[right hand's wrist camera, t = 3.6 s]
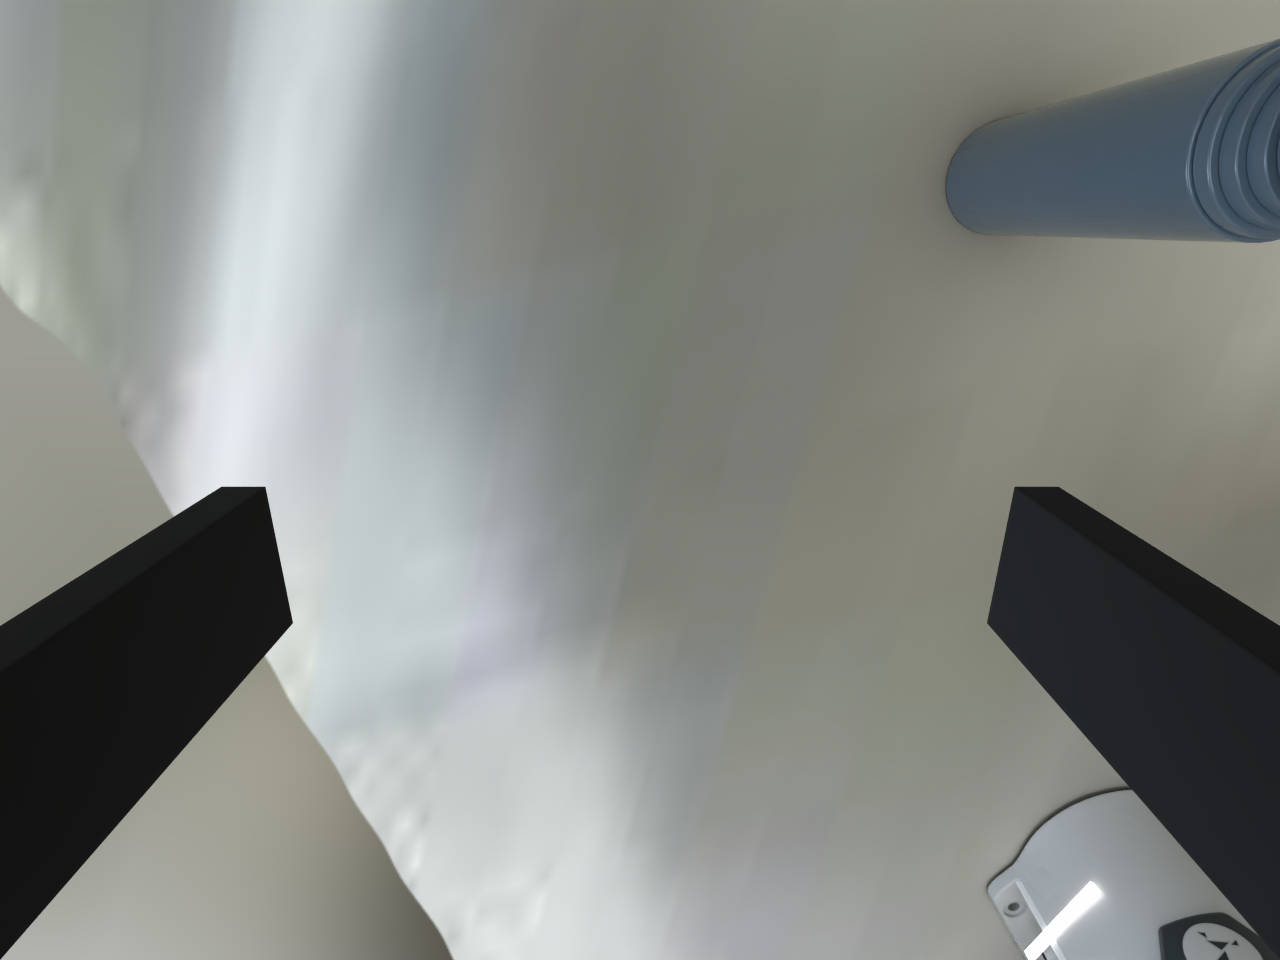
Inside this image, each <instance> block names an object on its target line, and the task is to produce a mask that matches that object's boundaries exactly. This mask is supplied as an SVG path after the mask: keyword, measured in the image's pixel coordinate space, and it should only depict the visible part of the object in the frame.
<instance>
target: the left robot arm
mask: <svg viewBox="0 0 1280 960" xmlns="http://www.w3.org/2000/svg"><path fill="white" fill-rule="evenodd" d="M987 892H988V895H989V897H990V899H991V901H992V902H993V904H994V906H995V907H996V909H997V911H998V913H999V914H1000V916H1001V918H1002V920H1003V921H1004V923H1005V925H1006V926H1007V928H1008V930H1009V932H1010V933H1011V935H1012V937H1013V938H1014V940H1015V942H1016V944H1017V945H1018V947H1019V949H1020V951H1021V952H1022V954H1023V956H1024V957H1025V959H1026V960H1280V959H1279V958H1278V957H1277V956H1276V955H1275V954H1274V952H1273V951H1272V950H1271V949H1270V948H1269V947H1268V946H1267V944H1266V943H1265V942H1264V941H1263V940H1262V939H1261V937H1260V936H1259V935H1258V934H1257V933H1256V932H1255V931H1254V929H1253V928H1252V927H1251V926H1250V925H1249V924H1248V923H1247V921H1246V920H1245V919H1244V918H1243V917H1242V916H1241V914H1240V913H1239V912H1238V911H1237V910H1236V909H1235V908H1234V906H1233V905H1232V904H1231V903H1230V902H1229V901H1228V900H1227V898H1226V897H1225V896H1224V895H1223V894H1222V893H1221V891H1220V890H1219V889H1218V888H1217V887H1216V886H1215V885H1214V883H1213V882H1212V881H1211V880H1210V879H1209V878H1208V877H1207V875H1206V874H1205V873H1204V872H1203V871H1202V870H1201V868H1200V867H1199V866H1198V865H1197V864H1196V863H1195V862H1194V860H1193V859H1192V858H1191V857H1190V856H1189V855H1188V854H1187V852H1186V851H1185V850H1184V849H1183V848H1182V847H1181V845H1180V844H1179V843H1178V842H1177V841H1176V840H1175V839H1174V837H1173V836H1172V835H1171V834H1170V833H1169V832H1168V831H1167V829H1166V828H1165V827H1164V826H1163V825H1162V824H1161V822H1160V821H1159V820H1158V819H1157V818H1156V817H1155V816H1154V814H1153V813H1152V812H1151V811H1150V810H1149V809H1148V808H1147V806H1146V805H1145V804H1144V803H1143V802H1142V801H1141V799H1140V798H1139V797H1138V796H1137V795H1136V794H1135V793H1134V791H1133V790H1122V791H1115V792H1109V793H1105V794H1101V795H1098V796H1094V797H1091V798H1088V799H1086V800H1083V801H1081V802H1078V803H1076V804H1074V805H1072V806H1070V807H1068V808H1066V809H1065V810H1063V811H1061V812H1060V813H1058V814H1057V815H1055V816H1054V817H1052V818H1051V819H1050V820H1048V821H1047V822H1046V823H1045V824H1044V825H1043V826H1042V827H1041V828H1039V829H1038V830H1037V832H1036V833H1035V834H1034V835H1033V836H1032V837H1031V839H1030V840H1029V841H1028V843H1027V844H1026V846H1025V847H1024V849H1023V851H1022V852H1021V854H1020V856H1019V857H1018V859H1017V860H1016V862H1015V863H1014V864H1013V865H1012V866H1011V867H1009V868H1008V869H1007V870H1005V871H1004V872H1003V873H1002V874H1000V875H999V876H998V877H997V878H996V879H994V880H993V881H992V882H991V884H990V885H989V887H988V890H987Z"/></svg>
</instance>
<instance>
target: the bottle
mask: <svg viewBox="0 0 1280 960" xmlns="http://www.w3.org/2000/svg"><path fill="white" fill-rule="evenodd" d="M946 195H947V200H948V204H949V207H950V209H951V211H952V213H953V215H954V216H955V218H956V219H957V220H958V221H959V222H960V223H961V224H962V225H963V226H965V227H966V228H967V229H969V230H971V231H973V232H976V233H980V234H986V235H1015V236H1047V237H1079V238H1111V239H1142V240H1174V241H1206V242H1238V243H1263V242H1271V241H1275V240H1279V239H1280V39H1277V40H1273V41H1270V42H1266V43H1263V44H1259V45H1256V46H1252V47H1249V48H1246V49H1242V50H1239V51H1235V52H1232V53H1228V54H1225V55H1221V56H1218V57H1214V58H1211V59H1208V60H1204V61H1201V62H1197V63H1194V64H1190V65H1187V66H1183V67H1180V68H1176V69H1173V70H1170V71H1166V72H1163V73H1159V74H1156V75H1152V76H1149V77H1145V78H1142V79H1138V80H1135V81H1132V82H1128V83H1125V84H1121V85H1118V86H1114V87H1111V88H1107V89H1104V90H1100V91H1097V92H1094V93H1090V94H1087V95H1083V96H1080V97H1076V98H1073V99H1069V100H1066V101H1062V102H1059V103H1056V104H1052V105H1049V106H1045V107H1042V108H1038V109H1035V110H1031V111H1028V112H1024V113H1021V114H1018V115H1014V116H1011V117H1007V118H1004V119H1000V120H997V121H993V122H991V123H988V124H986V125H984V126H982V127H980V128H979V129H977V130H976V131H975V132H973V133H972V134H971V135H970V136H969V137H968V138H966V140H965V141H964V142H963V143H962V144H961V145H960V147H959V148H958V150H957V151H956V153H955V155H954V157H953V159H952V161H951V164H950V166H949V170H948V173H947V179H946Z"/></svg>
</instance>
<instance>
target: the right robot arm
mask: <svg viewBox="0 0 1280 960" xmlns="http://www.w3.org/2000/svg"><path fill="white" fill-rule="evenodd" d="M292 623H293V621H292V616H291V611H290V607H289V602H288V597H287V592H286V587H285V582H284V577H283V572H282V567H281V562H280V557H279V552H278V547H277V542H276V537H275V532H274V527H273V522H272V518H271V513H270V508H269V503H268V498H267V493H266V488H265V487H221V488H219V489H217V490H216V491H214V492H213V493H211V494H209V495H208V496H206V497H205V498H203V499H201V500H200V501H198V502H197V503H195V504H193V505H192V506H190V507H189V508H187V509H186V510H184V511H182V512H181V513H179V514H178V515H176V516H174V517H173V518H171V519H170V520H168V521H166V522H165V523H163V524H162V525H160V526H159V527H157V528H155V529H154V530H152V531H151V532H149V533H147V534H146V535H144V536H143V537H141V538H139V539H138V540H136V541H135V542H133V543H132V544H130V545H128V546H127V547H125V548H124V549H122V550H120V551H119V552H117V553H116V554H114V555H112V556H111V557H109V558H108V559H106V560H104V561H103V562H101V563H100V564H98V565H96V566H95V567H93V568H92V569H90V570H89V571H87V572H85V573H84V574H82V575H81V576H79V577H77V578H76V579H74V580H73V581H71V582H69V583H68V584H66V585H65V586H63V587H61V588H60V589H58V590H57V591H55V592H54V593H52V594H50V595H49V596H47V597H46V598H44V599H42V600H41V601H39V602H38V603H36V604H34V605H33V606H31V607H30V608H28V609H27V610H25V611H23V612H22V613H20V614H19V615H17V616H15V617H14V618H12V619H11V620H9V621H7V622H6V623H4V624H3V625H1V626H0V959H1V958H2V957H3V956H4V955H5V954H6V952H7V951H8V950H9V949H10V948H11V947H12V946H13V944H14V943H15V942H16V941H17V940H18V939H19V937H20V936H21V935H22V934H23V933H24V932H25V931H26V929H27V928H28V927H29V926H30V925H31V924H32V923H33V921H34V920H35V919H36V918H37V917H38V916H39V914H40V913H41V912H42V911H43V910H44V909H45V908H46V906H47V905H48V904H49V903H50V902H51V901H52V900H53V898H54V897H55V896H56V895H57V894H58V893H59V891H60V890H61V889H62V888H63V887H64V886H65V885H66V883H67V882H68V881H69V880H70V879H71V878H72V877H73V875H74V874H75V873H76V872H77V871H78V870H79V868H80V867H81V866H82V865H83V864H84V863H85V862H86V860H87V859H88V858H89V857H90V856H91V855H92V853H93V852H94V851H95V850H96V849H97V848H98V847H99V845H100V844H101V843H102V842H103V841H104V840H105V839H106V837H107V836H108V835H109V834H110V833H111V832H112V831H113V829H114V828H115V827H116V826H117V825H118V824H119V822H120V821H121V820H122V819H123V818H124V817H125V816H126V814H127V813H128V812H129V811H130V810H131V809H132V808H133V806H134V805H135V804H136V803H137V802H138V801H139V799H140V798H141V797H142V796H143V795H144V794H145V793H146V791H147V790H148V789H149V788H150V787H151V786H152V785H153V783H154V782H155V781H156V780H157V779H158V778H159V776H160V775H161V774H162V773H163V772H164V771H165V770H166V768H167V767H168V766H169V765H170V764H171V763H172V761H173V760H174V759H175V758H176V757H177V756H178V755H179V753H180V752H181V751H182V750H183V749H184V748H185V747H186V745H187V744H188V743H189V742H190V741H191V740H192V738H193V737H194V736H195V735H196V734H197V733H198V731H199V730H200V729H201V728H202V727H203V726H204V725H205V724H206V722H207V721H208V720H209V719H210V718H211V717H212V715H213V714H214V713H215V712H216V711H217V710H218V709H219V707H220V706H221V705H222V704H223V703H224V702H225V701H226V699H227V698H228V697H229V696H230V695H231V694H232V692H233V691H234V690H235V689H236V688H237V687H238V686H239V684H240V683H241V682H242V681H243V680H244V679H245V678H246V676H247V675H248V674H249V673H250V672H251V671H252V669H253V668H254V667H255V666H256V665H257V664H258V663H259V661H260V660H261V659H262V658H263V657H264V656H265V655H266V653H267V652H268V651H269V650H270V649H271V648H272V646H273V645H274V644H275V643H276V642H277V641H278V640H279V638H280V637H281V636H282V635H283V634H284V633H285V632H286V630H287V629H288V628H289V627H290V626H291V625H292ZM987 623H988V625H989V626H990V627H991V628H992V629H993V630H994V632H995V633H996V634H997V635H998V636H999V637H1000V638H1001V640H1002V641H1003V642H1004V643H1005V644H1006V645H1007V646H1008V648H1009V649H1010V650H1011V651H1012V652H1013V653H1014V655H1015V656H1016V657H1017V658H1018V659H1019V660H1020V661H1021V663H1022V664H1023V665H1024V666H1025V667H1026V668H1027V669H1028V671H1029V672H1030V673H1031V674H1032V675H1033V676H1034V678H1035V679H1036V680H1037V681H1038V682H1039V683H1040V684H1041V686H1042V687H1043V688H1044V689H1045V690H1046V691H1047V692H1048V694H1049V695H1050V696H1051V697H1052V698H1053V699H1054V701H1055V702H1056V703H1057V704H1058V705H1059V706H1060V707H1061V709H1062V710H1063V711H1064V712H1065V713H1066V714H1067V715H1068V717H1069V718H1070V719H1071V720H1072V721H1073V722H1074V724H1075V725H1076V726H1077V727H1078V728H1079V729H1080V730H1081V732H1082V733H1083V734H1084V735H1085V736H1086V737H1087V738H1088V740H1089V741H1090V742H1091V743H1092V744H1093V745H1094V747H1095V748H1096V749H1097V750H1098V751H1099V752H1100V753H1101V755H1102V756H1103V757H1104V758H1105V759H1106V760H1107V761H1108V763H1109V764H1110V765H1111V766H1112V767H1113V768H1114V770H1115V771H1116V772H1117V773H1118V774H1119V775H1120V776H1121V778H1122V779H1123V780H1124V781H1125V782H1126V783H1127V785H1128V786H1129V787H1130V788H1131V789H1132V790H1133V791H1134V793H1135V794H1136V795H1137V796H1138V797H1139V798H1140V799H1141V801H1142V802H1143V803H1144V804H1145V805H1146V806H1147V808H1148V809H1149V810H1150V811H1151V812H1152V813H1153V814H1154V816H1155V817H1156V818H1157V819H1158V820H1159V821H1160V822H1161V824H1162V825H1163V826H1164V827H1165V828H1166V829H1167V831H1168V832H1169V833H1170V834H1171V835H1172V836H1173V837H1174V839H1175V840H1176V841H1177V842H1178V843H1179V844H1180V845H1181V847H1182V848H1183V849H1184V850H1185V851H1186V852H1187V854H1188V855H1189V856H1190V857H1191V858H1192V859H1193V860H1194V862H1195V863H1196V864H1197V865H1198V866H1199V867H1200V868H1201V870H1202V871H1203V872H1204V873H1205V874H1206V875H1207V877H1208V878H1209V879H1210V880H1211V881H1212V882H1213V883H1214V885H1215V886H1216V887H1217V888H1218V889H1219V890H1220V891H1221V893H1222V894H1223V895H1224V896H1225V897H1226V898H1227V900H1228V901H1229V902H1230V903H1231V904H1232V905H1233V906H1234V908H1235V909H1236V910H1237V911H1238V912H1239V913H1240V914H1241V916H1242V917H1243V918H1244V919H1245V920H1246V921H1247V923H1248V924H1249V925H1250V926H1251V927H1252V928H1253V929H1254V931H1255V932H1256V933H1257V934H1258V935H1259V936H1260V937H1261V939H1262V940H1263V941H1264V942H1265V943H1266V944H1267V946H1268V947H1269V948H1270V949H1271V950H1272V951H1273V952H1274V954H1275V955H1276V956H1277V957H1278V958H1279V959H1280V626H1279V625H1277V624H1276V623H1274V622H1273V621H1271V620H1269V619H1268V618H1266V617H1265V616H1263V615H1261V614H1260V613H1258V612H1257V611H1255V610H1254V609H1252V608H1250V607H1249V606H1247V605H1246V604H1244V603H1242V602H1241V601H1239V600H1238V599H1236V598H1234V597H1233V596H1231V595H1230V594H1228V593H1226V592H1225V591H1223V590H1222V589H1220V588H1219V587H1217V586H1215V585H1214V584H1212V583H1211V582H1209V581H1207V580H1206V579H1204V578H1203V577H1201V576H1199V575H1198V574H1196V573H1195V572H1193V571H1191V570H1190V569H1188V568H1187V567H1185V566H1184V565H1182V564H1180V563H1179V562H1177V561H1176V560H1174V559H1172V558H1171V557H1169V556H1168V555H1166V554H1164V553H1163V552H1161V551H1160V550H1158V549H1157V548H1155V547H1153V546H1152V545H1150V544H1149V543H1147V542H1145V541H1144V540H1142V539H1141V538H1139V537H1137V536H1136V535H1134V534H1133V533H1131V532H1129V531H1128V530H1126V529H1125V528H1123V527H1122V526H1120V525H1118V524H1117V523H1115V522H1114V521H1112V520H1110V519H1109V518H1107V517H1106V516H1104V515H1102V514H1101V513H1099V512H1098V511H1096V510H1094V509H1093V508H1091V507H1090V506H1088V505H1087V504H1085V503H1083V502H1082V501H1080V500H1079V499H1077V498H1075V497H1074V496H1072V495H1071V494H1069V493H1067V492H1066V491H1064V490H1063V489H1061V488H1059V487H1015V488H1014V493H1013V498H1012V503H1011V508H1010V513H1009V518H1008V522H1007V527H1006V532H1005V537H1004V542H1003V547H1002V552H1001V557H1000V562H999V567H998V572H997V577H996V582H995V587H994V592H993V597H992V602H991V607H990V611H989V616H988V621H987Z"/></svg>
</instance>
